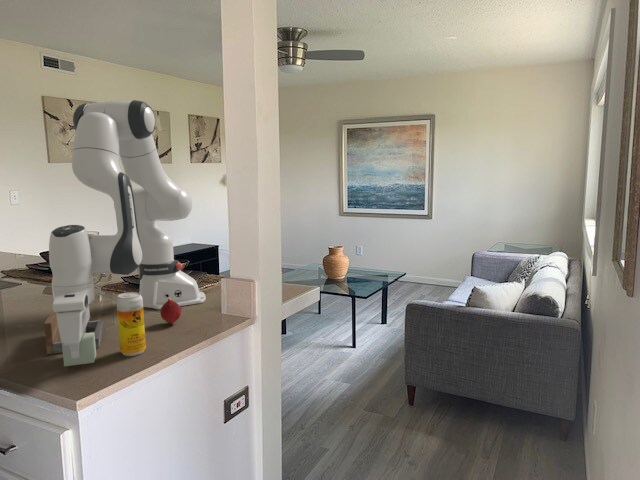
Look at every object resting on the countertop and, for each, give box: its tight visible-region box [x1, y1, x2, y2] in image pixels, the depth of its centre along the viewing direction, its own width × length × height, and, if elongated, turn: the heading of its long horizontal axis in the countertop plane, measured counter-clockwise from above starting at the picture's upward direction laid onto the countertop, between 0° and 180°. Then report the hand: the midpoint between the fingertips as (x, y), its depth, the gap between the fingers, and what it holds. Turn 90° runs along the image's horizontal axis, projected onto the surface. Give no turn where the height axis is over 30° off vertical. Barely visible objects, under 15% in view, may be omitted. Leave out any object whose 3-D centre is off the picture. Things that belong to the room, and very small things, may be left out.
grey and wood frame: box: [43, 310, 105, 355], centre depth 131 cm, size 12×16×8 cm
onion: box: [160, 298, 182, 325], centre depth 143 cm, size 6×6×8 cm
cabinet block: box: [62, 331, 97, 367], centre depth 117 cm, size 6×5×8 cm
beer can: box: [116, 291, 147, 357], centre depth 122 cm, size 6×6×15 cm
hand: (78, 349), depth 117 cm, fingers open, 8 cm apart
